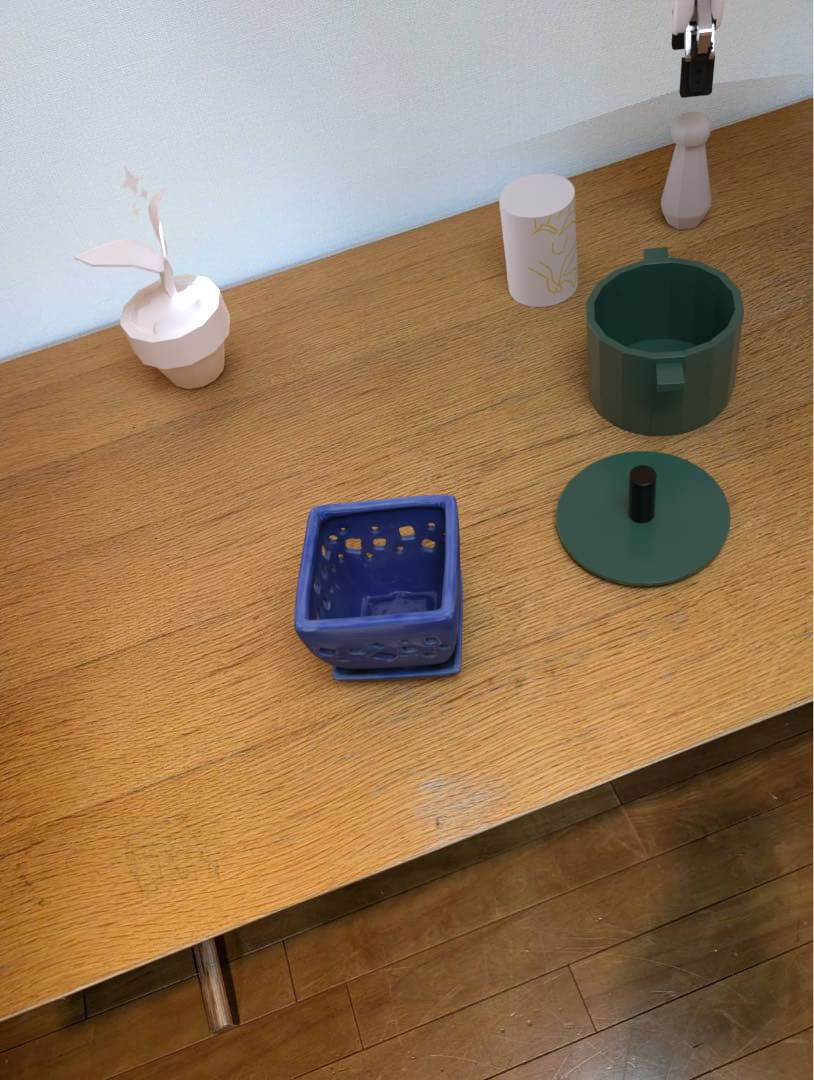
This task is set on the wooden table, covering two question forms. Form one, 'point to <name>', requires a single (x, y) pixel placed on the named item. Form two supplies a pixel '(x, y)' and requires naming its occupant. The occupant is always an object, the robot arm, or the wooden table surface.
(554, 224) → the white cylinder
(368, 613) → the flower pot
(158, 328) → the potted plant
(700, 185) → the salt shaker
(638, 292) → the pot
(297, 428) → the wooden table surface
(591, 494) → the lid
